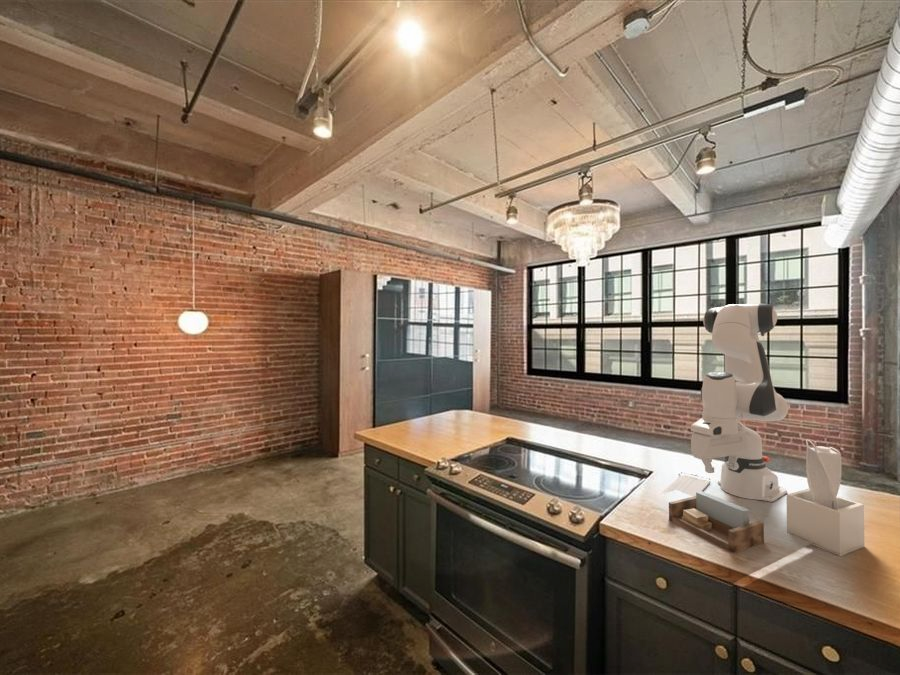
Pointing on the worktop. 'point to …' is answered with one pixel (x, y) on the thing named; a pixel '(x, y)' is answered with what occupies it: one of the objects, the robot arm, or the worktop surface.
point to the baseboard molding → (688, 485)
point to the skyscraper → (823, 474)
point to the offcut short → (695, 516)
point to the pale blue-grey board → (722, 510)
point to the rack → (719, 528)
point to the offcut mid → (703, 526)
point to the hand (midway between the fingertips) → (720, 470)
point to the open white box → (826, 523)
